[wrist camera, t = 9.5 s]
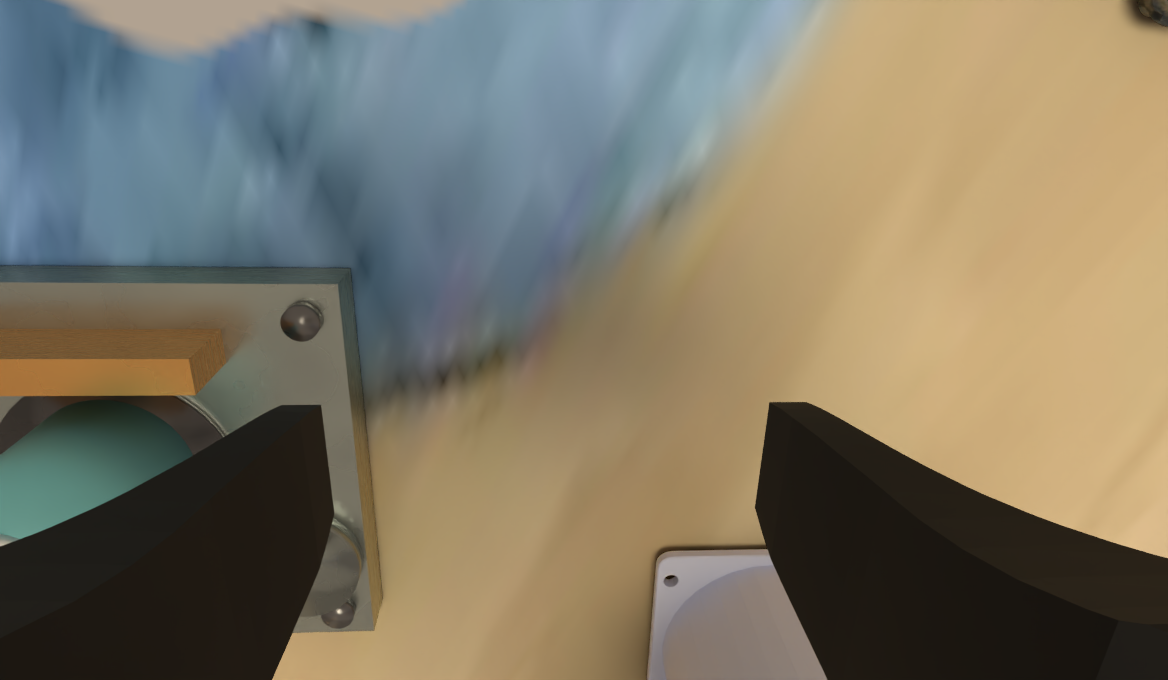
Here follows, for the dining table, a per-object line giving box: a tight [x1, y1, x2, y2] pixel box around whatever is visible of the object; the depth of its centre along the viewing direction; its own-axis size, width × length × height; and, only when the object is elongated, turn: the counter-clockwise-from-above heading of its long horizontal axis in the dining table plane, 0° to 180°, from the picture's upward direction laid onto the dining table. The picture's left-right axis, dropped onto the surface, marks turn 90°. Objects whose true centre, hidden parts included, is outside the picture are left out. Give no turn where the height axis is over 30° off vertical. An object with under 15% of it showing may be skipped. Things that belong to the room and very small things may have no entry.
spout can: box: [0, 400, 193, 546], centre depth 18 cm, size 4×4×6 cm
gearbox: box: [0, 266, 383, 633], centre depth 21 cm, size 12×11×4 cm
